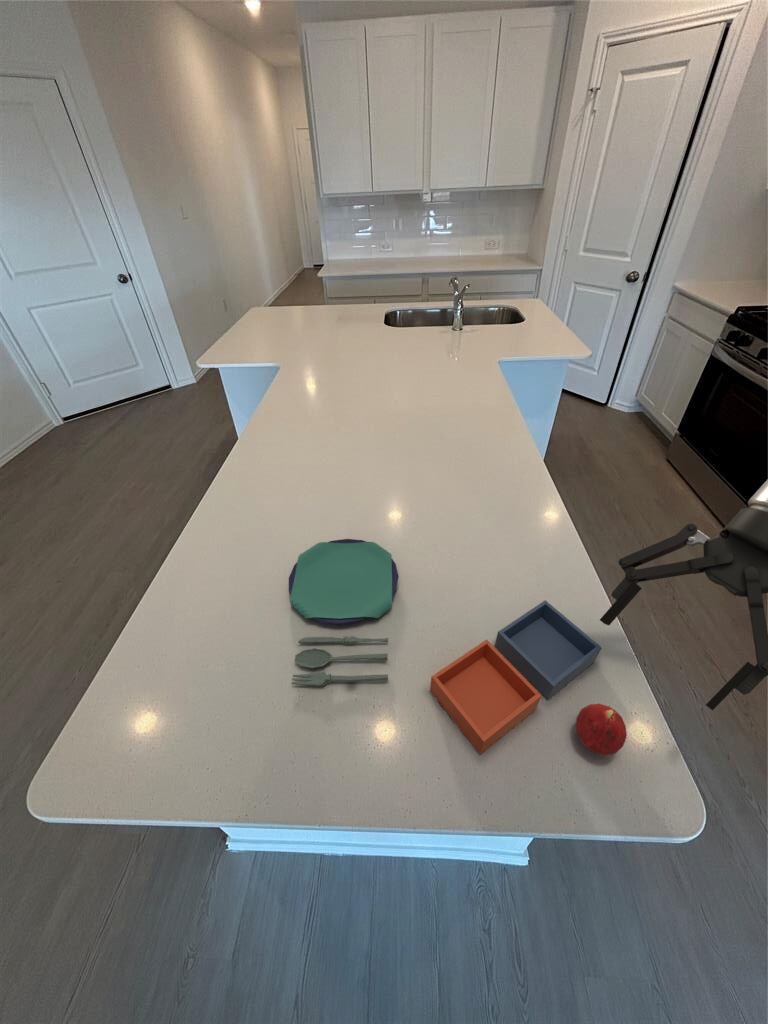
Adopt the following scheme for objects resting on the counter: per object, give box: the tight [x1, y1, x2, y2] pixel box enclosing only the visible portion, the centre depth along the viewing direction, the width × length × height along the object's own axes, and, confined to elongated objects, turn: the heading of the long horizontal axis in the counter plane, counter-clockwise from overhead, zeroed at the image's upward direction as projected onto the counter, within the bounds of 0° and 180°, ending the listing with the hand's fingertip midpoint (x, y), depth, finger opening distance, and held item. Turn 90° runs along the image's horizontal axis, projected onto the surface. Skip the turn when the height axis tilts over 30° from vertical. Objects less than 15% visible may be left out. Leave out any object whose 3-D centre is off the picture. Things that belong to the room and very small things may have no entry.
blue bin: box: [494, 600, 603, 701], centre depth 67 cm, size 11×11×4 cm
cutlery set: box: [288, 538, 399, 687], centre depth 76 cm, size 20×30×2 cm, turn 0°
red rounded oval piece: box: [575, 703, 628, 756], centre depth 56 cm, size 6×6×8 cm
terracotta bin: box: [429, 639, 543, 755], centre depth 62 cm, size 11×11×4 cm
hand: (652, 661), depth 54 cm, fingers open, 13 cm apart
